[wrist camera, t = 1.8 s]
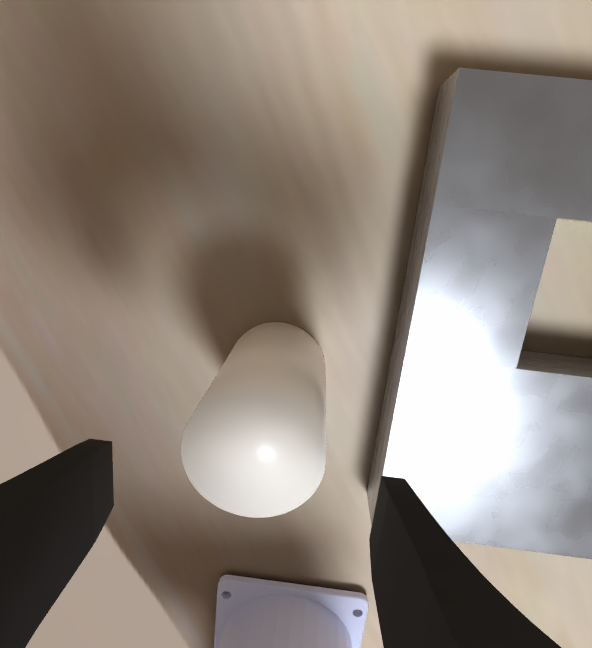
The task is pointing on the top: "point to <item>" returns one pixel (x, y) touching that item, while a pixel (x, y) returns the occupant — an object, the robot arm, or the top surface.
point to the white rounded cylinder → (261, 425)
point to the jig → (493, 321)
